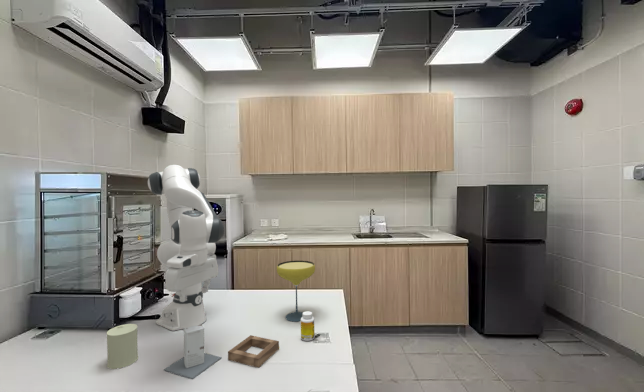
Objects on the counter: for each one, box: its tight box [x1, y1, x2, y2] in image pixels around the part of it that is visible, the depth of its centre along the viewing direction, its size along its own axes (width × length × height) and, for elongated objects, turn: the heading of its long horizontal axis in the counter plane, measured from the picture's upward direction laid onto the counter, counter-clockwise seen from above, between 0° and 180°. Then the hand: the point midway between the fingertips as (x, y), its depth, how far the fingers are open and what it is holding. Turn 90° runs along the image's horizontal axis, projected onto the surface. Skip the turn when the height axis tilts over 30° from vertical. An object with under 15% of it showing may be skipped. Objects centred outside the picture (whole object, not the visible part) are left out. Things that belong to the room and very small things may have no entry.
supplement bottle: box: [300, 311, 315, 342], centre depth 119 cm, size 6×6×10 cm
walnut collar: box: [227, 335, 280, 368], centre depth 108 cm, size 13×13×3 cm
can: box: [106, 323, 139, 370], centre depth 105 cm, size 9×9×12 cm
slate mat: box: [163, 352, 222, 380], centre depth 102 cm, size 13×13×1 cm
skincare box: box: [183, 323, 205, 368], centre depth 102 cm, size 6×4×12 cm
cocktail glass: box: [276, 260, 316, 323], centre depth 141 cm, size 18×18×25 cm
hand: (194, 296), depth 103 cm, fingers open, 8 cm apart
